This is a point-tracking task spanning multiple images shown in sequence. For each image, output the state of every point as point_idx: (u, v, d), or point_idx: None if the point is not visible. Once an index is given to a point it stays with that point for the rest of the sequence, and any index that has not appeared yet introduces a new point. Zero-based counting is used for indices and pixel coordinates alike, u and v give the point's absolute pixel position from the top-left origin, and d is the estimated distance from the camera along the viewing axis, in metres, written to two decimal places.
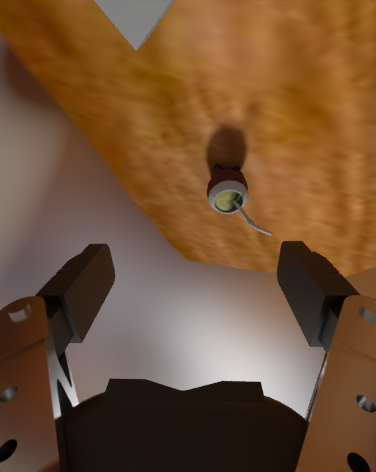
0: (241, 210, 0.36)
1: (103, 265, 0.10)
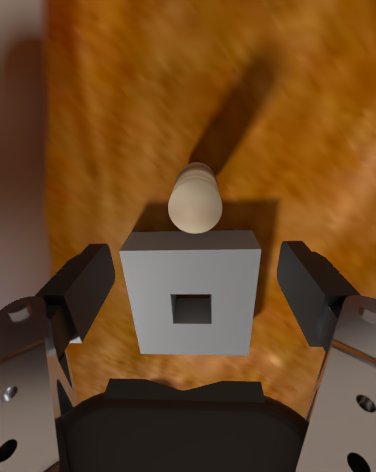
0: None
1: (103, 265, 0.10)
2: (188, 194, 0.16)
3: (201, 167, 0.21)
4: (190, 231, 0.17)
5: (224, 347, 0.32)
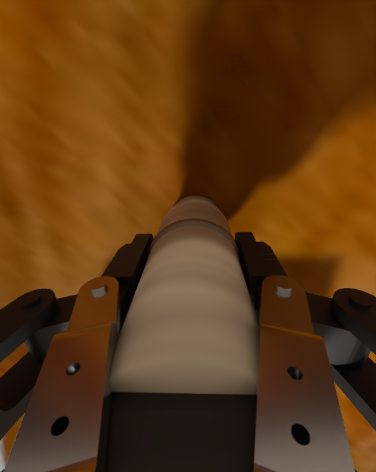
0: None
1: None
2: (162, 389, 0.04)
3: (204, 225, 0.09)
4: None
5: None
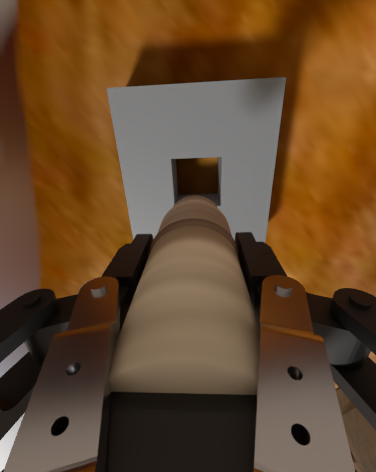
0: None
1: None
2: (161, 389, 0.04)
3: (204, 225, 0.09)
4: None
5: None
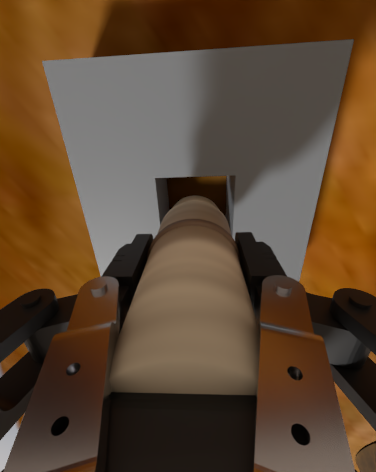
0: None
1: None
2: (161, 389, 0.04)
3: (204, 225, 0.09)
4: None
5: None
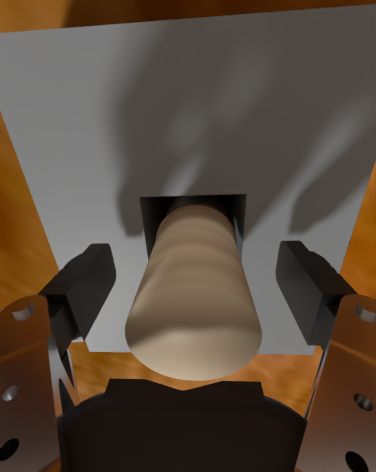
0: None
1: (105, 264, 0.10)
2: (174, 311, 0.06)
3: (205, 208, 0.11)
4: (182, 376, 0.07)
5: (265, 337, 0.15)
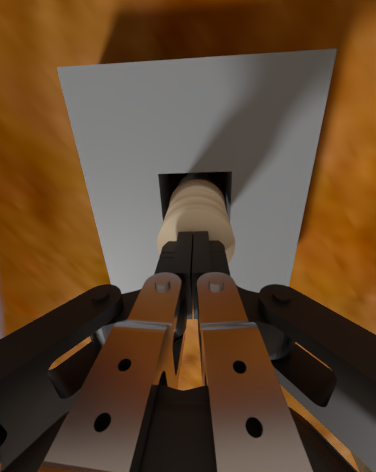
0: None
1: None
2: (186, 227, 0.11)
3: (204, 181, 0.16)
4: None
5: (249, 284, 0.20)
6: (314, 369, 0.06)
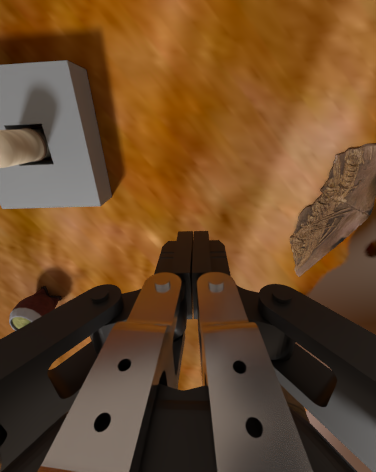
0: None
1: None
2: None
3: (27, 129, 0.30)
4: None
5: (75, 195, 0.34)
6: (314, 369, 0.06)
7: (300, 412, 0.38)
